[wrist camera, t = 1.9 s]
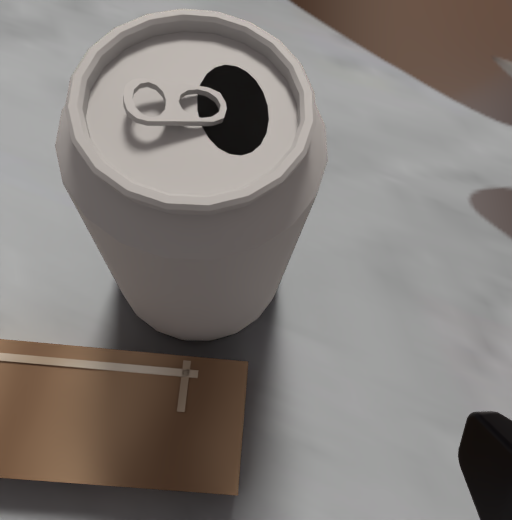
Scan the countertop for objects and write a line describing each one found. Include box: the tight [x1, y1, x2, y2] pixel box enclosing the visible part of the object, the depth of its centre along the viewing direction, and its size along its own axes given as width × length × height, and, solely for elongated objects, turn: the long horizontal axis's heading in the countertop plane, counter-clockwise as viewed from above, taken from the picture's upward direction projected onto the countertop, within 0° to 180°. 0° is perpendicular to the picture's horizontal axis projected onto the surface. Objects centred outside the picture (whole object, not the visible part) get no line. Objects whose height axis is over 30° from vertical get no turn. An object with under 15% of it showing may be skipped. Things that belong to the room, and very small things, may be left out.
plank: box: [0, 339, 248, 495], centre depth 19 cm, size 16×5×2 cm, turn 86°
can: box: [55, 9, 328, 341], centre depth 17 cm, size 8×8×12 cm
